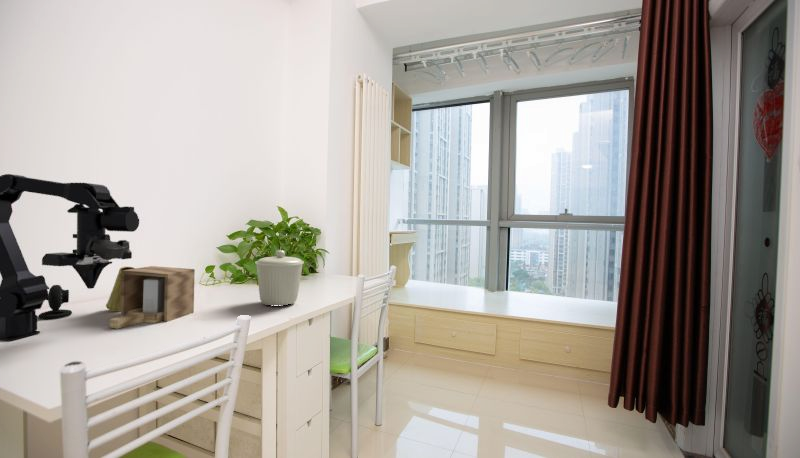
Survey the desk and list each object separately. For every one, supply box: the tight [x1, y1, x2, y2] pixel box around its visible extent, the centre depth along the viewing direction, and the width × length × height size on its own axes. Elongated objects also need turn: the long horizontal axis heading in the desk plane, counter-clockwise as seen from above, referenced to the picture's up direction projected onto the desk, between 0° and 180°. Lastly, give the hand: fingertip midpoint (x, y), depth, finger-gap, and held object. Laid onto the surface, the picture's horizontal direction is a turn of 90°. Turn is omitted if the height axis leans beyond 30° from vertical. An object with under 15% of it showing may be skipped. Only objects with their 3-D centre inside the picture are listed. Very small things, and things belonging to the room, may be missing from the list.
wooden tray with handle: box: [109, 307, 164, 329], centre depth 108 cm, size 18×11×3 cm, turn 168°
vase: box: [105, 266, 135, 312], centre depth 116 cm, size 6×6×14 cm
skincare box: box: [143, 277, 165, 314], centre depth 112 cm, size 6×4×12 cm
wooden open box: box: [120, 265, 196, 323], centre depth 114 cm, size 11×17×15 cm, turn 80°
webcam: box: [37, 284, 73, 321], centre depth 108 cm, size 8×8×10 cm
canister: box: [254, 249, 305, 306], centre depth 134 cm, size 18×18×21 cm
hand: (90, 288), depth 93 cm, fingers closed
